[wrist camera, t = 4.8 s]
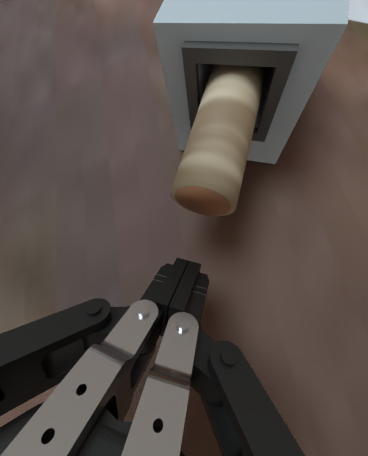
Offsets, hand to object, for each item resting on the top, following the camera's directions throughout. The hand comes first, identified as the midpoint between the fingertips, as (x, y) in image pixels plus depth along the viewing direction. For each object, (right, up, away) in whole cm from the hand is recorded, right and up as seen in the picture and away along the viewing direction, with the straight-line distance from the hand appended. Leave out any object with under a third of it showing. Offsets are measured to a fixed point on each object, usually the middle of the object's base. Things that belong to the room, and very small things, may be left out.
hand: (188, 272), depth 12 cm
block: (+6, +17, +10) cm, 20 cm away
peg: (+3, +9, +3) cm, 10 cm away
